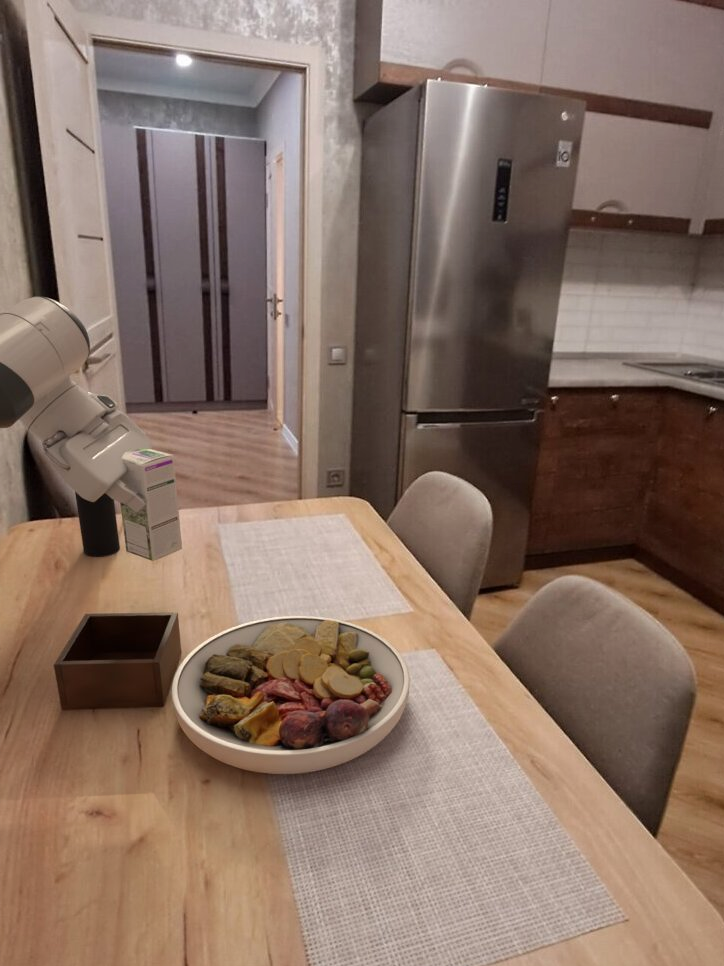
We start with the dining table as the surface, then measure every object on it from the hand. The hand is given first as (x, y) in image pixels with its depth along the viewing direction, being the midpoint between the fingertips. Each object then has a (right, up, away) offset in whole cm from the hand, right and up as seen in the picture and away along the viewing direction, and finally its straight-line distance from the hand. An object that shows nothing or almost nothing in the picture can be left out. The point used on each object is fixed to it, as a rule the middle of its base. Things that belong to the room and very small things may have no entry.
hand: (153, 496), depth 93 cm
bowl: (+21, -28, -5) cm, 35 cm away
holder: (-3, -25, -2) cm, 25 cm away
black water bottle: (-23, -9, +36) cm, 43 cm away
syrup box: (-1, -8, +3) cm, 9 cm away
